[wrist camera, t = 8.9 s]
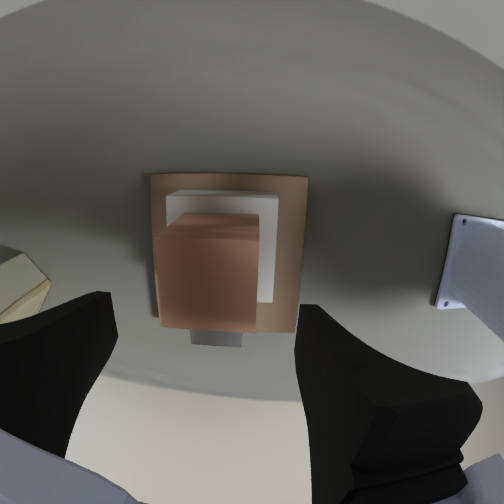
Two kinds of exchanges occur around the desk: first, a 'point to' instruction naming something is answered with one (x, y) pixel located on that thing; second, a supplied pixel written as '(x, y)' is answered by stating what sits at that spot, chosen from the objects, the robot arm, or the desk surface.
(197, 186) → the plate
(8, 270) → the skincare box
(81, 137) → the desk surface
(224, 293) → the terracotta block
